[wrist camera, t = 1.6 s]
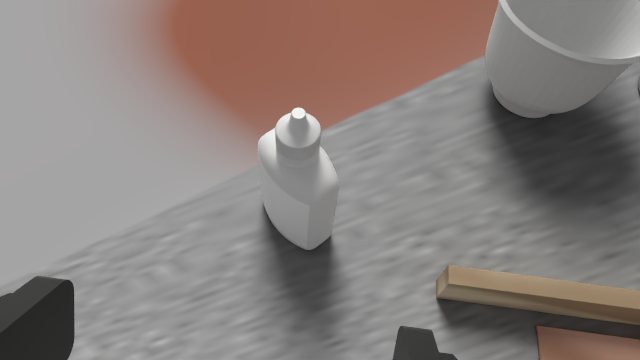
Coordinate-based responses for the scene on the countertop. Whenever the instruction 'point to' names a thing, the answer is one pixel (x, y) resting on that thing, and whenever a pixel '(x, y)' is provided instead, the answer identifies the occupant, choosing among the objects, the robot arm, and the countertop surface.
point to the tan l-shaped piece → (552, 309)
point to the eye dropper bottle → (298, 180)
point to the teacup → (559, 52)
